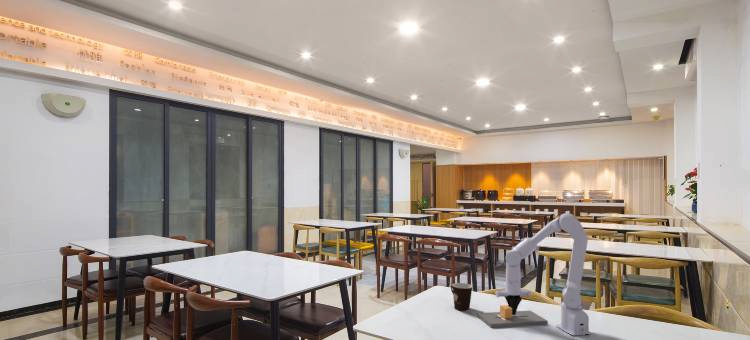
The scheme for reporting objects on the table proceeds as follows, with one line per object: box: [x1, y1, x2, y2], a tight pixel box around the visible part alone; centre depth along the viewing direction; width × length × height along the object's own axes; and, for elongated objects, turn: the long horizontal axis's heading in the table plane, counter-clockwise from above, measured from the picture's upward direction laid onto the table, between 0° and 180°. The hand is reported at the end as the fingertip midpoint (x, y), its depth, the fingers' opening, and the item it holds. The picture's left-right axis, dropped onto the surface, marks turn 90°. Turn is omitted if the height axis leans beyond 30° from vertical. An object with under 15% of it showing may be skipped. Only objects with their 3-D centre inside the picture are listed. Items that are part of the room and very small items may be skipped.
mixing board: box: [476, 310, 549, 329], centre depth 157 cm, size 12×24×2 cm, turn 100°
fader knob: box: [499, 304, 512, 318], centre depth 156 cm, size 4×3×4 cm
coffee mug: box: [450, 282, 473, 312], centre depth 172 cm, size 12×9×10 cm
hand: (512, 313), depth 157 cm, fingers closed
